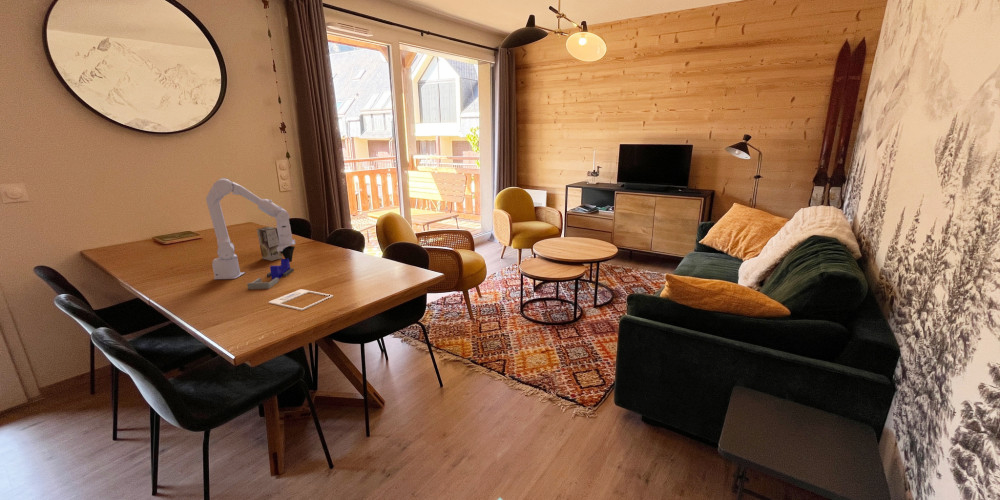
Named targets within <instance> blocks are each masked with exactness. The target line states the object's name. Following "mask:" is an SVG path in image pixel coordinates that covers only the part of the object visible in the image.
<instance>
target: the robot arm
mask: <svg viewBox="0 0 1000 500" xmlns="http://www.w3.org/2000/svg"><path fill="white" fill-rule="evenodd" d="M229 194H232V195H237V196H239V195H240V196H241V197H243V198H245V199H247V200H248V201H250V202H252V203H254V204H256V205H257V208H258V209H259V210H260V212H261V211H262V212H264V214H267V215H268V216H270V217H272V218H275V222H276V228H277V232H278V238H279V245H278V247H277V251H280V252H281V253H282V257H283V259H289V263H291V262H292V261H293V255H294V250H295V247H296V246H295V245H296V239H293V235H292V229H291V224H290V218H291V216H290V214H289V212H288V211H287V210H286V209H285V208H283V207H282V206H281V205H278V204H276V203H274V202H273V200H272V199H268V198H261V197H259V196H257V195H256V194H254V193H253V192H251V191H250V190H249V189H248V188H245V187H244V186H243V185H241V184H239V183H237V182H235V181H232V180H231V179H229V178H225V177H221V178H218V179H217V180H216V181H215V182H214V183H213V184H212V185H211V188H210V190H209V191H208V193H207V195H206V197H205V202H206V205H207V208H208V213H209V216H210V219H211V223H212V226H213V231H214V233H215V237H216V242H217V243H216V244H217V251H216V253H217V256H218V257H216V258H215V257H214V259H213V260H212V264H211V266H212V270H213V280H235V279H237V278H239V277H241V276H242V275H244V274H245V273H246V272H245V271H243V272H241V269H240V264H239V259H238V255H237V254H236V253H235V244H234V243H233V242H232V241H231V237H230V236H229V232H228V228H227V225H226V220H225V217H224V213H223V209H222V204H221V201H222V199H223V198H224V197H226V196H227V195H229Z"/></svg>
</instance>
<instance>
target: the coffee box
mask: <svg viewBox="0 0 1000 500" xmlns="http://www.w3.org/2000/svg"><path fill="white" fill-rule="evenodd" d="M256 232H257V238H258V244H259V249H260V253H261V258H262V259H263V260H267V261H271V262H272V261H273V262H274V261H276V260H281V259H284V256H283V254H282V253H281V252H280V251H277V247H278V245H279V238H278V232H277V227H272V226H266V227H261V228H260V227H259V228H257V229H256Z"/></svg>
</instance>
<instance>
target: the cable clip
mask: <svg viewBox="0 0 1000 500" xmlns="http://www.w3.org/2000/svg"><path fill="white" fill-rule="evenodd" d="M269 269H270V270H269V271H270V272H271V276H270V277H271V280H273V279H275V278H279V280H280V279H281V278H282V277H283V274H284V273H285V272H286V271H288V270H289V269H291V262H289V259H285V258H281V259H280V264H279V265H270V266H269Z"/></svg>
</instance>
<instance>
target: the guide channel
mask: <svg viewBox="0 0 1000 500" xmlns="http://www.w3.org/2000/svg"><path fill="white" fill-rule="evenodd" d="M293 272H294V268H290V269H289V270H288V271H286V272H285V273H284V274H283V276H282V277H288V276H289V275H290V274H291V273H293ZM266 277H267V278H270V277H272V276H271V271H270V272H268V273H267V274H266Z"/></svg>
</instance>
